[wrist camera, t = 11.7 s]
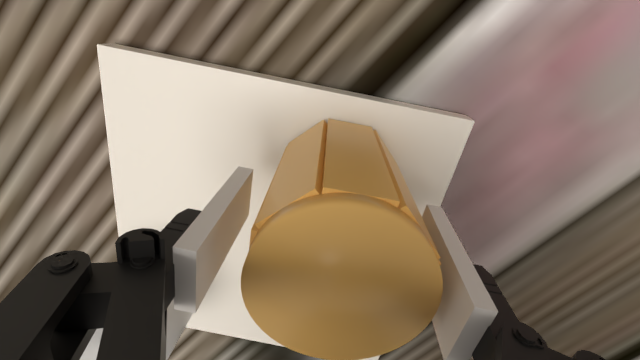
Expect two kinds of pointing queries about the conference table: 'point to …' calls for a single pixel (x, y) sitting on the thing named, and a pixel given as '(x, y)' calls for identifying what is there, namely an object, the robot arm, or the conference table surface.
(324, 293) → the wire cap
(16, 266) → the conference table surface
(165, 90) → the plate
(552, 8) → the conference table surface
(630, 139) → the conference table surface
